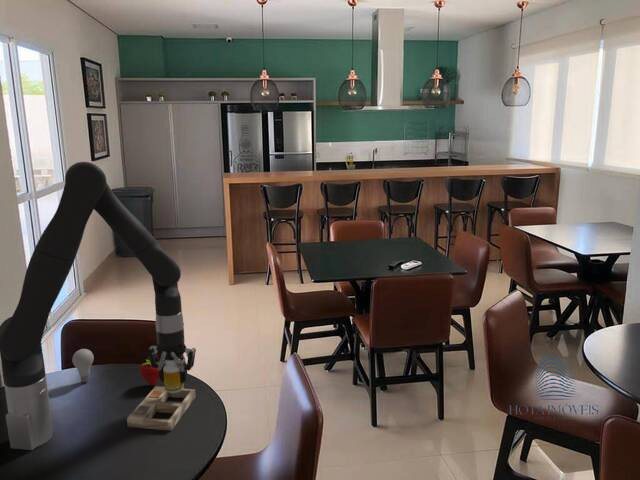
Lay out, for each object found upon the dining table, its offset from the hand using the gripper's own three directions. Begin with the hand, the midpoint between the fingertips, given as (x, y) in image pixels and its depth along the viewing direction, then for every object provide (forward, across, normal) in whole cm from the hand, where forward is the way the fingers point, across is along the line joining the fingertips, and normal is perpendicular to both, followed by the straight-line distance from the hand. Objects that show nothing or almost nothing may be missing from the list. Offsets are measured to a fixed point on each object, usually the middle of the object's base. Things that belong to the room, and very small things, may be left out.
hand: (173, 381), depth 151 cm
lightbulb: (+7, -34, +8) cm, 35 cm away
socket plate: (+7, -2, -4) cm, 9 cm away
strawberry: (+7, -11, +9) cm, 16 cm away
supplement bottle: (+3, 0, 0) cm, 3 cm away
